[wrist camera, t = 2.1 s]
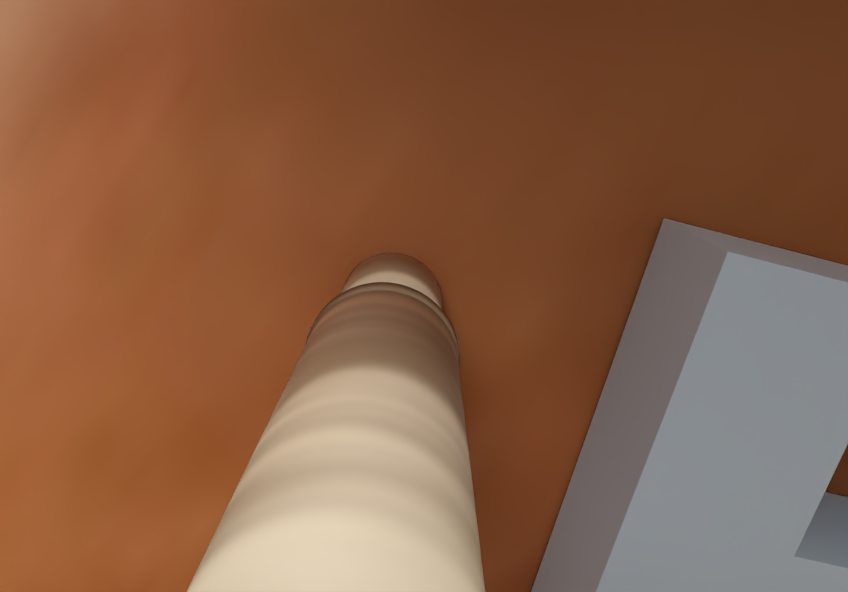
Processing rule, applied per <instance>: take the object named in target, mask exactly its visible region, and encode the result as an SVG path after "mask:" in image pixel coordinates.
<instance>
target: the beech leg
mask: <svg viewBox="0 0 848 592" xmlns="http://www.w3.org/2000/svg"><path fill="white" fill-rule="evenodd" d="M459 364H460V361H459V349H458V343H457V338H456V334H455V332H454V329H453V326H452V324H451V322H450V320H449V319H448V317H447V316H446V314H445V313H444V311H443V310H442V298H441V291H440V287H439V285H438V282H437V280H436V278H435V276H434V275H433V274H432V272H431V271H430V270H429V269H428V268H427V267H426V266H425V265H424V264H423V263H421V262H420V261H418V260H417V259H415V258H413V257H410V256H407V255H404V254H399V253H383V254H378V255H375V256H372V257H370V258H368V259H366V260H364V261H363V262H361V263H360V264H359V265H358V266H357V267H355V269H354V270H353V271H352V272H351V273H350V275H349V277H348V278H347V280H346V283H345V285H344V287H343V290H342V292H341V294H339V295H338V296H336V297H335V298H334V299H332V300H331V301H330V302H329V303H328V304H327V305H326V306H325V307H324V308H323V310H322V311H321V312H320V314H319V315H318V317H317V318H316V320H315V322H314V324H313V326H312V328H311V330H310V332H309V335H308V337H307V341H306V344H305V347H304V349H303V351H302V353H301V355H300V357H299V359H298V362H297V364H296V366H295V368H294V370H293V372H292V374H291V376H290V378H289V380H288V382H287V384H286V386H285V389H284V391H283V393H282V395H281V397H280V399H279V401H278V403H277V405H276V407H275V409H274V411H273V413H272V416H271V418H270V420H269V422H268V424H267V426H266V428H265V430H264V432H263V434H262V436H261V438H260V441H259V443H258V445H257V447H256V449H255V451H254V453H253V455H252V457H251V459H250V461H249V463H248V465H247V468H246V470H245V472H244V474H243V476H242V478H241V480H240V482H239V484H238V486H237V488H236V490H235V492H234V495H233V497H232V499H231V501H230V503H229V505H228V507H227V509H226V511H225V513H224V515H223V517H222V519H221V522H220V524H219V526H218V528H217V530H216V532H215V534H214V536H213V538H212V540H211V542H210V544H209V546H208V549H207V551H206V553H205V555H204V557H203V559H202V561H201V563H200V565H199V567H198V569H197V571H196V573H195V576H194V578H193V580H192V582H191V584H190V586H189V588H188V590H187V592H485V585H484V576H483V568H482V560H481V551H480V543H479V534H478V526H477V517H476V509H475V500H474V492H473V484H472V475H471V467H470V458H469V450H468V441H467V433H466V425H465V416H464V408H463V399H462V391H461V382H460V374H459Z"/></svg>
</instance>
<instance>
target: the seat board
mask: <svg viewBox="0 0 848 592" xmlns="http://www.w3.org/2000/svg"><path fill="white" fill-rule="evenodd" d="M847 444H848V266H847V265H843V264H839V263H835V262H832V261H828V260H824V259H820V258H816V257H812V256H808V255H804V254H801V253H797V252H793V251H789V250H785V249H781V248H777V247H774V246H770V245H766V244H762V243H758V242H754V241H750V240H746V239H743V238H739V237H735V236H731V235H727V234H723V233H719V232H716V231H712V230H708V229H704V228H700V227H696V226H692V225H688V224H685V223H681V222H677V221H673V220H669V219H665V218H664V219H663V222H662V225H661V228H660V230H659V233H658V236H657V239H656V242H655V244H654V247H653V250H652V253H651V256H650V258H649V261H648V264H647V267H646V270H645V273H644V275H643V278H642V281H641V284H640V287H639V289H638V292H637V295H636V298H635V301H634V303H633V306H632V309H631V312H630V315H629V317H628V320H627V323H626V326H625V329H624V331H623V334H622V337H621V340H620V343H619V346H618V348H617V351H616V354H615V357H614V360H613V362H612V365H611V368H610V371H609V374H608V376H607V379H606V382H605V385H604V388H603V390H602V393H601V396H600V399H599V402H598V405H597V407H596V410H595V413H594V416H593V419H592V421H591V424H590V427H589V430H588V433H587V435H586V438H585V441H584V444H583V447H582V449H581V452H580V455H579V458H578V461H577V463H576V466H575V469H574V472H573V475H572V478H571V480H570V483H569V486H568V489H567V492H566V494H565V497H564V500H563V503H562V506H561V508H560V511H559V514H558V517H557V520H556V522H555V525H554V528H553V531H552V534H551V537H550V539H549V542H548V545H547V548H546V551H545V553H544V556H543V559H542V562H541V565H540V567H539V570H538V573H537V576H536V579H535V581H534V584H533V587H532V590H531V592H848V497H845V496H840V495H836V494H832V493H828V492H825V491H826V488H827V486H828V484H829V482H830V480H831V478H832V476H833V474H834V472H835V470H836V468H837V465H838V463H839V461H840V459H841V457H842V455H843V453H844V451H845V449H846V447H847Z"/></svg>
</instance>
